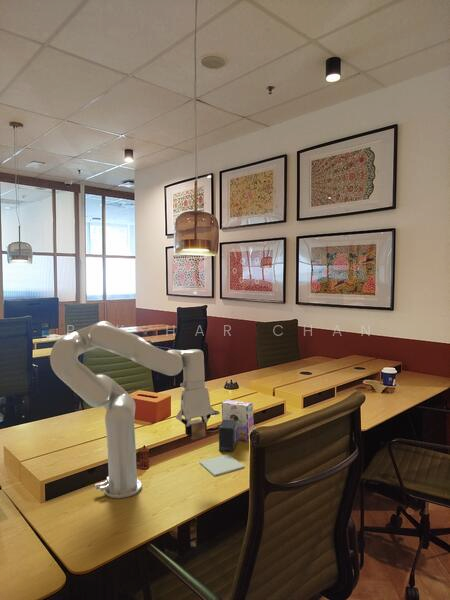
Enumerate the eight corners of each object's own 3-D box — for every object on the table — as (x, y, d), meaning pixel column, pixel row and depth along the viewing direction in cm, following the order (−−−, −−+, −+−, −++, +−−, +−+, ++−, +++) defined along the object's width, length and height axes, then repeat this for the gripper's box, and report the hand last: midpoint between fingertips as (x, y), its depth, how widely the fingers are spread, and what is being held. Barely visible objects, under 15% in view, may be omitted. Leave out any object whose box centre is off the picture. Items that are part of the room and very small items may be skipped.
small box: (233, 452, 171) (233, 428, 170) (218, 451, 172) (217, 427, 172) (238, 442, 181) (237, 419, 181) (223, 442, 182) (223, 419, 182)
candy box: (254, 438, 186) (253, 402, 185) (248, 442, 181) (247, 406, 180) (228, 432, 193) (227, 398, 193) (222, 437, 188) (221, 402, 188)
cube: (192, 439, 143) (192, 425, 143) (187, 435, 147) (186, 421, 147) (205, 436, 145) (205, 422, 145) (199, 432, 150) (199, 418, 149)
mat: (214, 476, 150) (214, 474, 150) (199, 463, 162) (199, 461, 162) (244, 467, 157) (244, 466, 156) (227, 455, 168) (227, 454, 168)
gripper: (175, 390, 138) (178, 443, 139) (220, 382, 146) (222, 432, 147) (168, 385, 145) (170, 436, 146) (211, 378, 153) (212, 426, 153)
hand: (196, 433), depth 146 cm, fingers closed on cube, 5 cm apart
